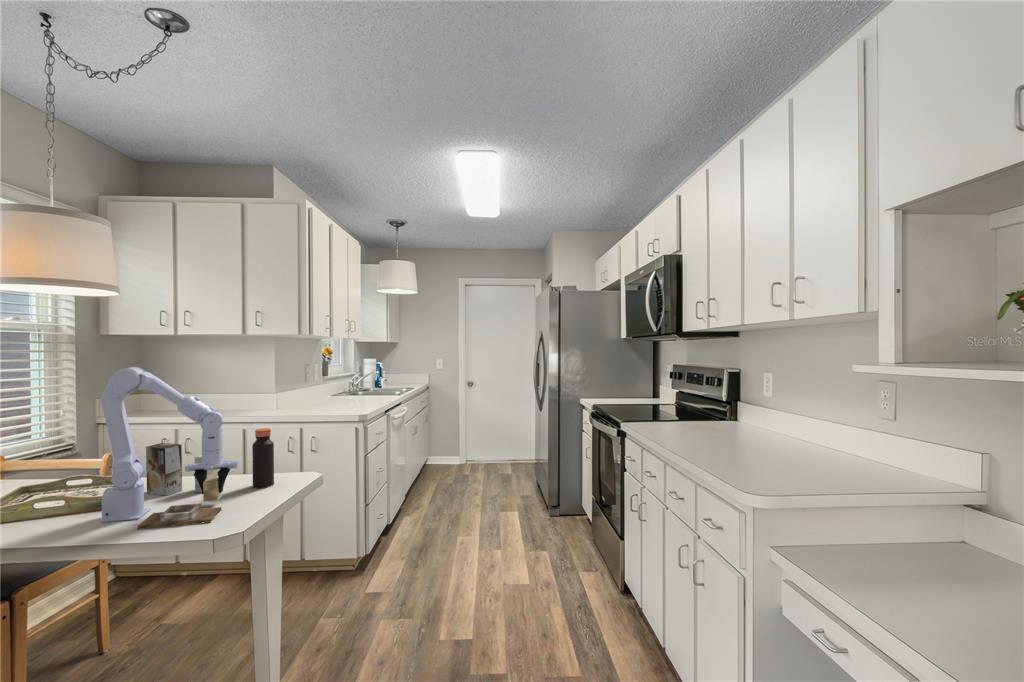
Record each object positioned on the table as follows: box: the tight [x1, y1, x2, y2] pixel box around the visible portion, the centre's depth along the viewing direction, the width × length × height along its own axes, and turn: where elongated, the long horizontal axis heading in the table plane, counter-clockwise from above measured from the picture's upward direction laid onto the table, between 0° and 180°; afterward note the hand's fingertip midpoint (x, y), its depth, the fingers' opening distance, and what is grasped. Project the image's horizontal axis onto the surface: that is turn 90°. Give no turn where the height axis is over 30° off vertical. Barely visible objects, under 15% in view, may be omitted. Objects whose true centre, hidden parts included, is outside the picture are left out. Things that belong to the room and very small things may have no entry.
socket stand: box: [137, 502, 222, 530], centre depth 145 cm, size 18×10×3 cm, turn 105°
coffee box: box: [145, 442, 183, 497], centre depth 169 cm, size 9×6×16 cm
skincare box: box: [194, 454, 219, 493], centre depth 172 cm, size 6×4×12 cm
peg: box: [202, 478, 223, 502], centre depth 156 cm, size 4×4×6 cm
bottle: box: [251, 427, 275, 488], centre depth 177 cm, size 7×7×20 cm
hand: (212, 492), depth 156 cm, fingers closed on peg, 4 cm apart
